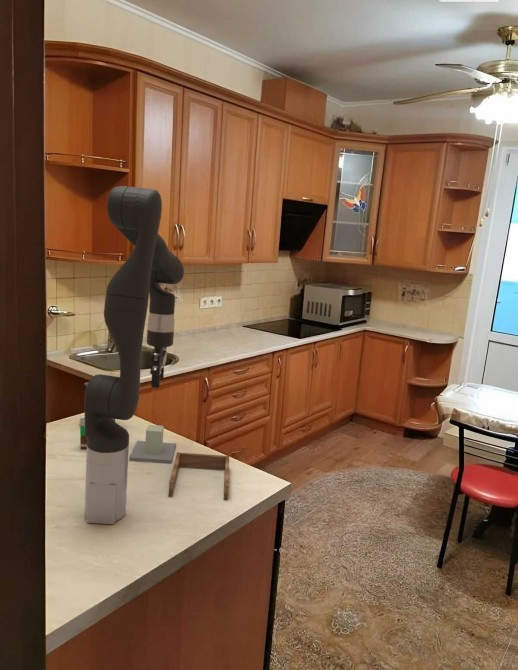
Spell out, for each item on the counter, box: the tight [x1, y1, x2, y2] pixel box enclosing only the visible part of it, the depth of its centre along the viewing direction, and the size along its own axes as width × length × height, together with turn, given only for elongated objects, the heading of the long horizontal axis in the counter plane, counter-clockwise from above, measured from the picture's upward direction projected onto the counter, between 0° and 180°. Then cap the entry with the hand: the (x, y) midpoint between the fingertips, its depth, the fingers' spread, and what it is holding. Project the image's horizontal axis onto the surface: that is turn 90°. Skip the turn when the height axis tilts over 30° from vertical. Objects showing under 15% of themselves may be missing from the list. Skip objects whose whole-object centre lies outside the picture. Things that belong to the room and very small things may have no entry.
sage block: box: [144, 424, 165, 454], centre depth 153 cm, size 4×4×7 cm
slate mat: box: [128, 440, 177, 464], centre depth 154 cm, size 12×12×1 cm
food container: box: [79, 416, 87, 450], centre depth 156 cm, size 12×6×10 cm, turn 179°
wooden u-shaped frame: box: [167, 451, 230, 501], centre depth 139 cm, size 18×15×4 cm
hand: (157, 383), depth 150 cm, fingers open, 8 cm apart
